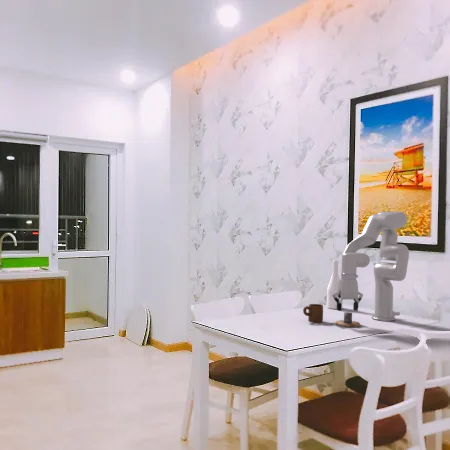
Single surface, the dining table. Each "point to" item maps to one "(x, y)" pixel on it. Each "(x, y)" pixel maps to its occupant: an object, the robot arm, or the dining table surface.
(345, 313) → the copper lid
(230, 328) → the dining table surface
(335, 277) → the wine bottle
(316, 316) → the mug
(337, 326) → the rubber mat
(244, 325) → the dining table surface
